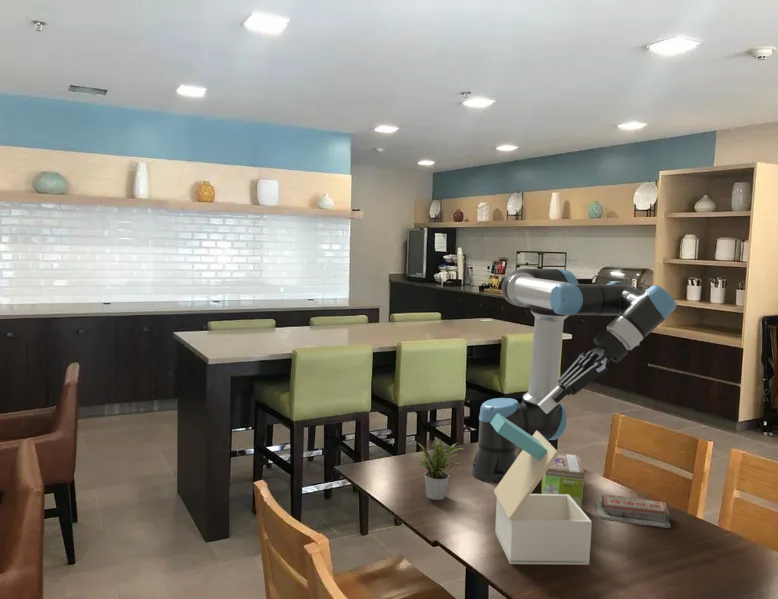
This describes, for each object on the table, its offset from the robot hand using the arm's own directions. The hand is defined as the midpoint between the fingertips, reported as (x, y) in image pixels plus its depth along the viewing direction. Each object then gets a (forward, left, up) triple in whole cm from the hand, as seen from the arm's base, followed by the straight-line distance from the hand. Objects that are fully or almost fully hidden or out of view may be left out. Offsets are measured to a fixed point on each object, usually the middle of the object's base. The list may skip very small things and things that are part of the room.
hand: (542, 409), depth 153 cm
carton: (-1, +1, -33) cm, 33 cm away
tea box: (-22, -7, -34) cm, 41 cm away
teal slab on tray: (+2, -2, -15) cm, 16 cm away
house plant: (-5, -35, -34) cm, 49 cm away
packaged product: (-37, +6, -34) cm, 50 cm away
